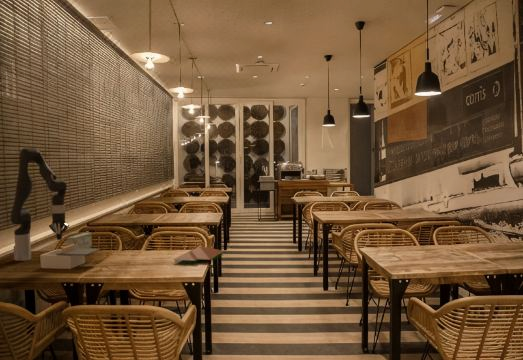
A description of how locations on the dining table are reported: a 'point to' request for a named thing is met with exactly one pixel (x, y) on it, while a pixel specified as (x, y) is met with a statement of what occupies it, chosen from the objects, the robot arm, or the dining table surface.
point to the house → (200, 255)
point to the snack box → (81, 241)
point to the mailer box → (61, 260)
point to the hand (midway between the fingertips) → (59, 239)
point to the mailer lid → (76, 251)
